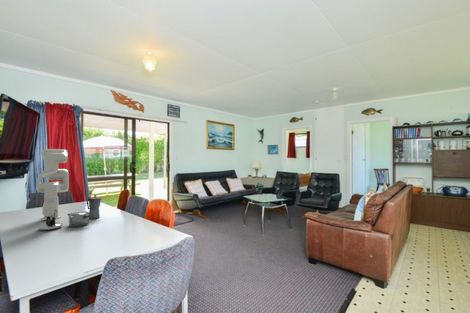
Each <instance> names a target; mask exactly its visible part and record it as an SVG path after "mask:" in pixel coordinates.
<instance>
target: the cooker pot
mask: <svg viewBox="0 0 470 313" xmlns="http://www.w3.org/2000/svg"><path fill="white" fill-rule="evenodd" d="M67 216H68V228H71V229H72V228H73V229H74V228H83V227H86V226H88V225H90V219H89V217H91V215H89V211H78V212H77V211H75V212H70V213H67Z"/></svg>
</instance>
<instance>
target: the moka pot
mask: <svg viewBox="0 0 470 313" xmlns="http://www.w3.org/2000/svg"><path fill="white" fill-rule="evenodd" d="M101 201H102V197H101V196H97V194H94V196H92V197H89V198H87V200H86V206H87V210H88V212H89V215H91V217H89V220H94V219H99V218H100V217H101V216H100V206H101Z"/></svg>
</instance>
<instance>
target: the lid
mask: <svg viewBox="0 0 470 313" xmlns="http://www.w3.org/2000/svg"><path fill="white" fill-rule="evenodd" d="M50 220H51V218H48V225H46V223H43V224H40V225H38V227H37V229H38V230H40V231H47V230H48V231H49V230H54V229H55V230H56V229H58V228H59V229H60V228H61V227H62V226H63V222H61V221H60V222H58V221H57V222H56V221H55V224H54V225H52V226H50Z"/></svg>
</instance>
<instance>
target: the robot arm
mask: <svg viewBox="0 0 470 313" xmlns="http://www.w3.org/2000/svg"><path fill="white" fill-rule="evenodd" d="M40 154H41V157H42V160H43V161H44V170H43V171H41V172H40V174H39V175H38V176H37V177H36V182H35V183H36V185H35V187H36V191H37V193H43V194H44V195H43V205H42V216H43V217H42V218H41V220H42V221H45V224H46V225H48V218H51V220H50V226H52V225H54V224H55V222H56V220H58V219H60V218H61V216H62V215H59V198H60V197H59V196H58V193H65V192H68V191H69V188H70V185H69V184H70V183H69V181H70V179H69V176H70V175H69V170H67V169H65V168H59V164H65V163H67V162H68V159H69V158H68V151H67V150H66V149H61V148H60V149H59V148H58V149H57V148H48V149H47V148H45V149H42V150H41V152H40ZM44 178H45V180H47V181H44V182H42V180H43V179H44Z"/></svg>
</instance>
